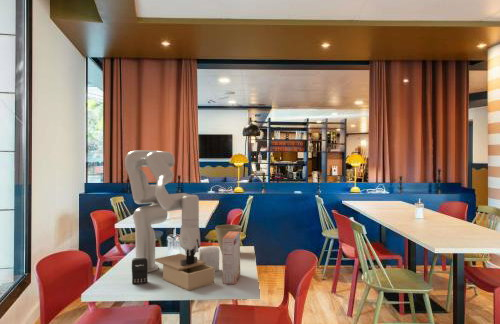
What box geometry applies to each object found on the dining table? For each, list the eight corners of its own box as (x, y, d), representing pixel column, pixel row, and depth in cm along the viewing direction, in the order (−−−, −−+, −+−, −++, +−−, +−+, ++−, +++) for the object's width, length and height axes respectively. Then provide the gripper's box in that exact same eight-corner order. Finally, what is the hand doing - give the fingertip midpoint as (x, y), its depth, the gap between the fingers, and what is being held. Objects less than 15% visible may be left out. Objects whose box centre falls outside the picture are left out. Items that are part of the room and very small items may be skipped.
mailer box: (163, 279, 169) (163, 264, 169) (188, 273, 179) (188, 258, 178) (188, 291, 154) (188, 274, 154) (214, 283, 164) (214, 267, 164)
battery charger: (131, 285, 161) (131, 259, 161) (132, 282, 165) (131, 257, 165) (147, 284, 163) (147, 258, 163) (148, 281, 167) (148, 256, 166)
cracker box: (228, 274, 177) (228, 230, 177) (240, 274, 176) (240, 231, 176) (221, 284, 163) (221, 237, 163) (234, 284, 162) (234, 237, 162)
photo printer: (216, 268, 186) (216, 244, 186) (220, 270, 182) (220, 245, 182) (197, 272, 180) (197, 246, 180) (201, 274, 177) (201, 248, 177)
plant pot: (240, 250, 222) (240, 224, 221) (241, 257, 207) (241, 229, 207) (215, 251, 221) (215, 224, 220) (215, 257, 206) (215, 229, 206)
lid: (154, 260, 174) (154, 254, 174) (180, 255, 184) (180, 248, 184) (178, 270, 159) (178, 263, 159) (205, 263, 169) (205, 256, 169)
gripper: (173, 221, 166) (173, 262, 166) (193, 226, 155) (193, 269, 156) (187, 219, 171) (187, 258, 172) (207, 223, 161) (207, 265, 161)
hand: (190, 263), depth 164 cm, fingers closed
